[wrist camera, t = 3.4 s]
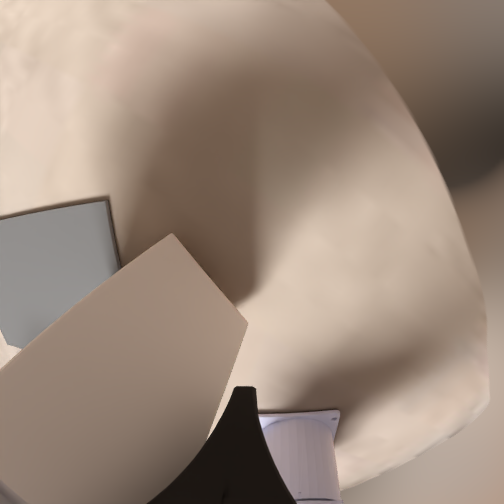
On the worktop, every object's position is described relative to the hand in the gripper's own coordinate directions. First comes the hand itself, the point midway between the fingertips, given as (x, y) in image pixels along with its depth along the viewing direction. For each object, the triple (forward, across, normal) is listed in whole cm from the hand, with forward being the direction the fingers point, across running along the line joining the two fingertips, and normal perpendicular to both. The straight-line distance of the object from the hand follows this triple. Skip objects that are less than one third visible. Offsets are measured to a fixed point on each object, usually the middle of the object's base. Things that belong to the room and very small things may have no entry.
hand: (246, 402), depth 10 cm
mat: (+9, +19, 0) cm, 21 cm away
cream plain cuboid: (+8, +5, 0) cm, 10 cm away
